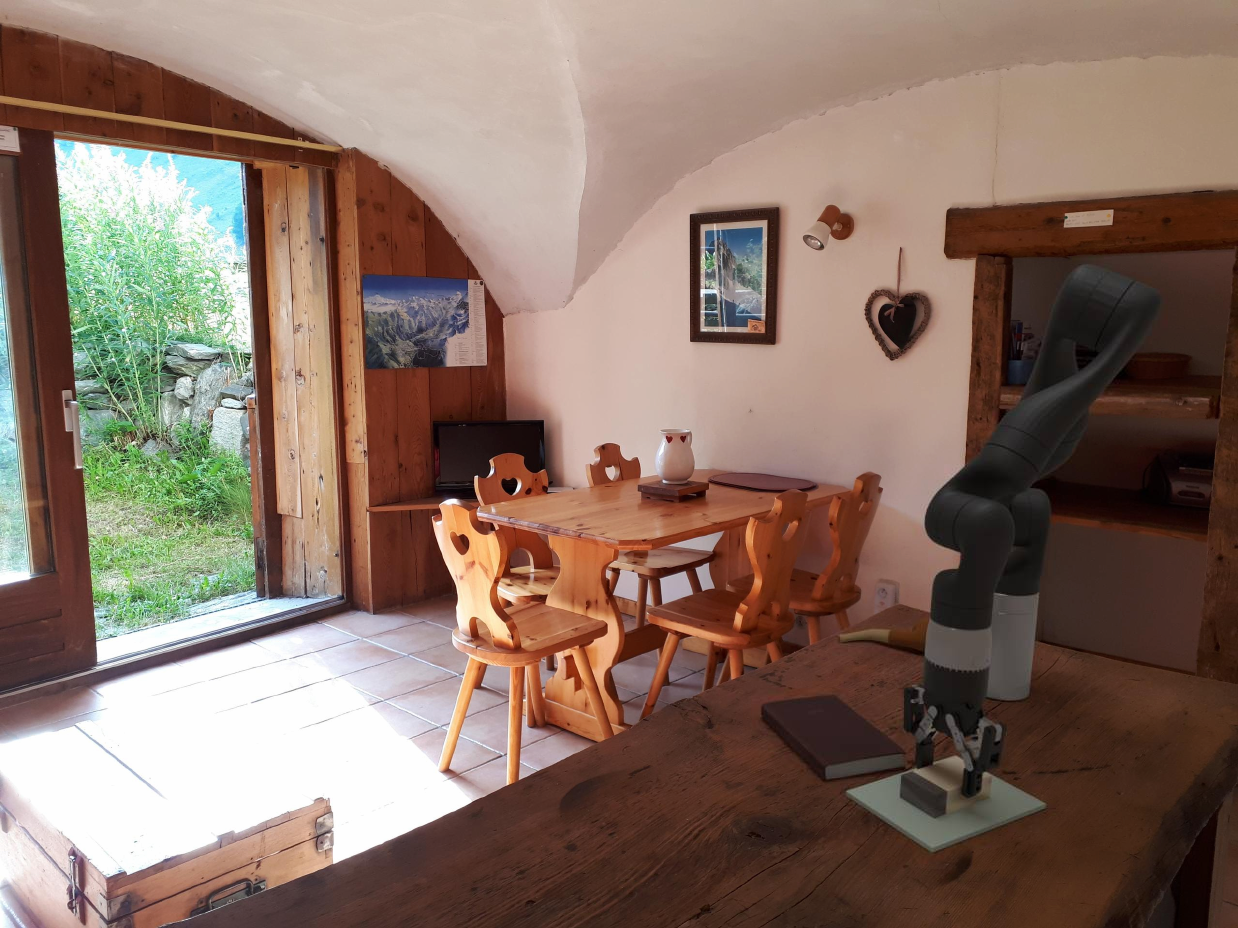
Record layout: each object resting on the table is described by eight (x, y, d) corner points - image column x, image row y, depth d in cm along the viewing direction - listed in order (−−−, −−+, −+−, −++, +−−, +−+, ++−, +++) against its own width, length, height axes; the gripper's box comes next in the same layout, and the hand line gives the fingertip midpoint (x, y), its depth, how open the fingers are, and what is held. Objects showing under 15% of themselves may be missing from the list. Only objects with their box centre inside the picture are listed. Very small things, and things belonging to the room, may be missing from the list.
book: (822, 785, 122) (824, 761, 121) (759, 720, 140) (760, 699, 140) (906, 773, 125) (908, 750, 125) (834, 711, 144) (835, 691, 143)
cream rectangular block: (954, 777, 122) (956, 756, 122) (990, 797, 117) (992, 775, 117) (899, 796, 117) (901, 774, 117) (933, 818, 112) (935, 795, 112)
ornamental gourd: (948, 659, 164) (951, 628, 163) (841, 652, 167) (843, 621, 166) (940, 645, 171) (942, 615, 170) (837, 638, 174) (839, 608, 173)
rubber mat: (845, 795, 118) (845, 790, 118) (955, 759, 128) (955, 755, 128) (931, 852, 107) (932, 847, 106) (1045, 807, 116) (1046, 803, 116)
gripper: (1028, 671, 110) (1015, 801, 113) (932, 632, 122) (923, 751, 125) (985, 683, 106) (972, 818, 109) (890, 641, 118) (882, 764, 121)
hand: (946, 781), depth 117 cm, fingers open, 6 cm apart
